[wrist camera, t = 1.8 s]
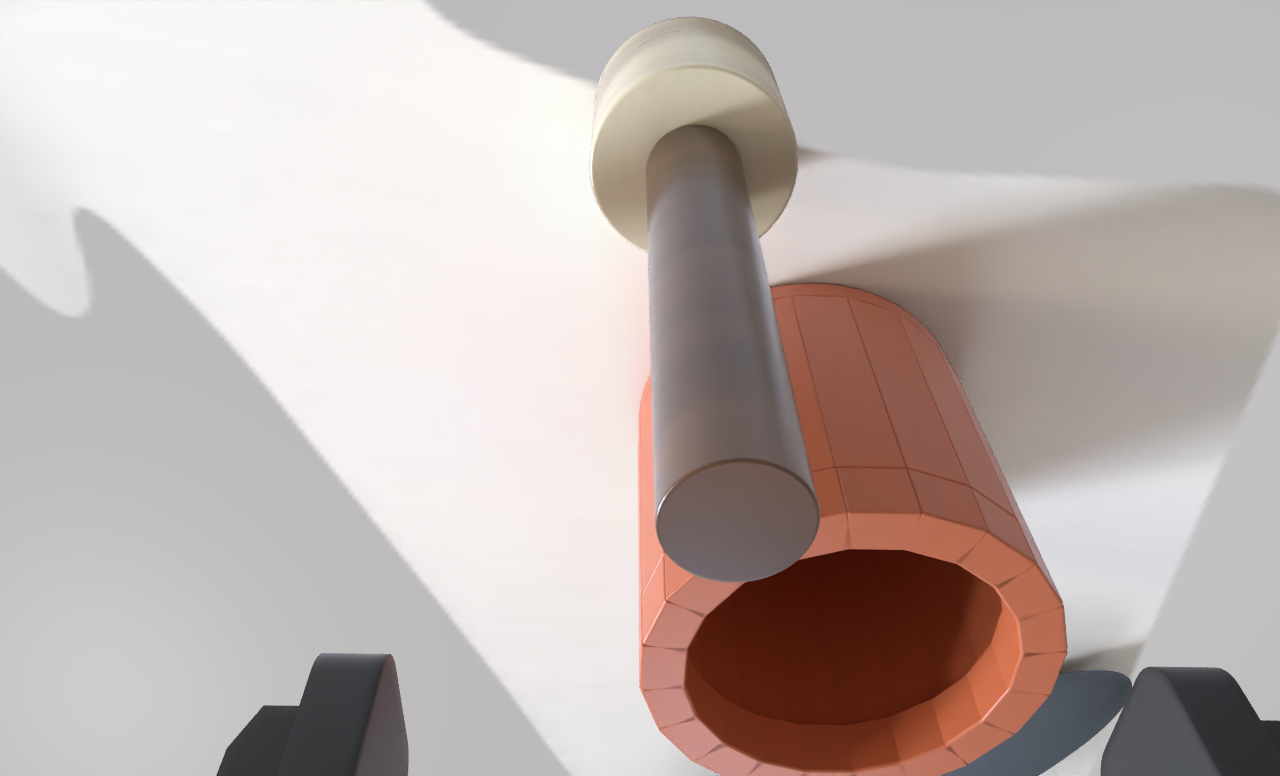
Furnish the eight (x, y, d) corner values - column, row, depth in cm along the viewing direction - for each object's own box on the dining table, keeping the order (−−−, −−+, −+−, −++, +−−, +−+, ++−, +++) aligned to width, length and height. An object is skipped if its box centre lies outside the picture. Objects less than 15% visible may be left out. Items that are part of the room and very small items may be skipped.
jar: (643, 278, 30) (646, 508, 21) (986, 285, 30) (1121, 516, 22) (634, 535, 35) (635, 794, 27) (923, 539, 35) (1011, 798, 27)
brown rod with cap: (594, 13, 25) (552, 371, 12) (787, 18, 25) (953, 377, 12) (594, 193, 28) (560, 645, 15) (768, 197, 28) (888, 649, 15)
